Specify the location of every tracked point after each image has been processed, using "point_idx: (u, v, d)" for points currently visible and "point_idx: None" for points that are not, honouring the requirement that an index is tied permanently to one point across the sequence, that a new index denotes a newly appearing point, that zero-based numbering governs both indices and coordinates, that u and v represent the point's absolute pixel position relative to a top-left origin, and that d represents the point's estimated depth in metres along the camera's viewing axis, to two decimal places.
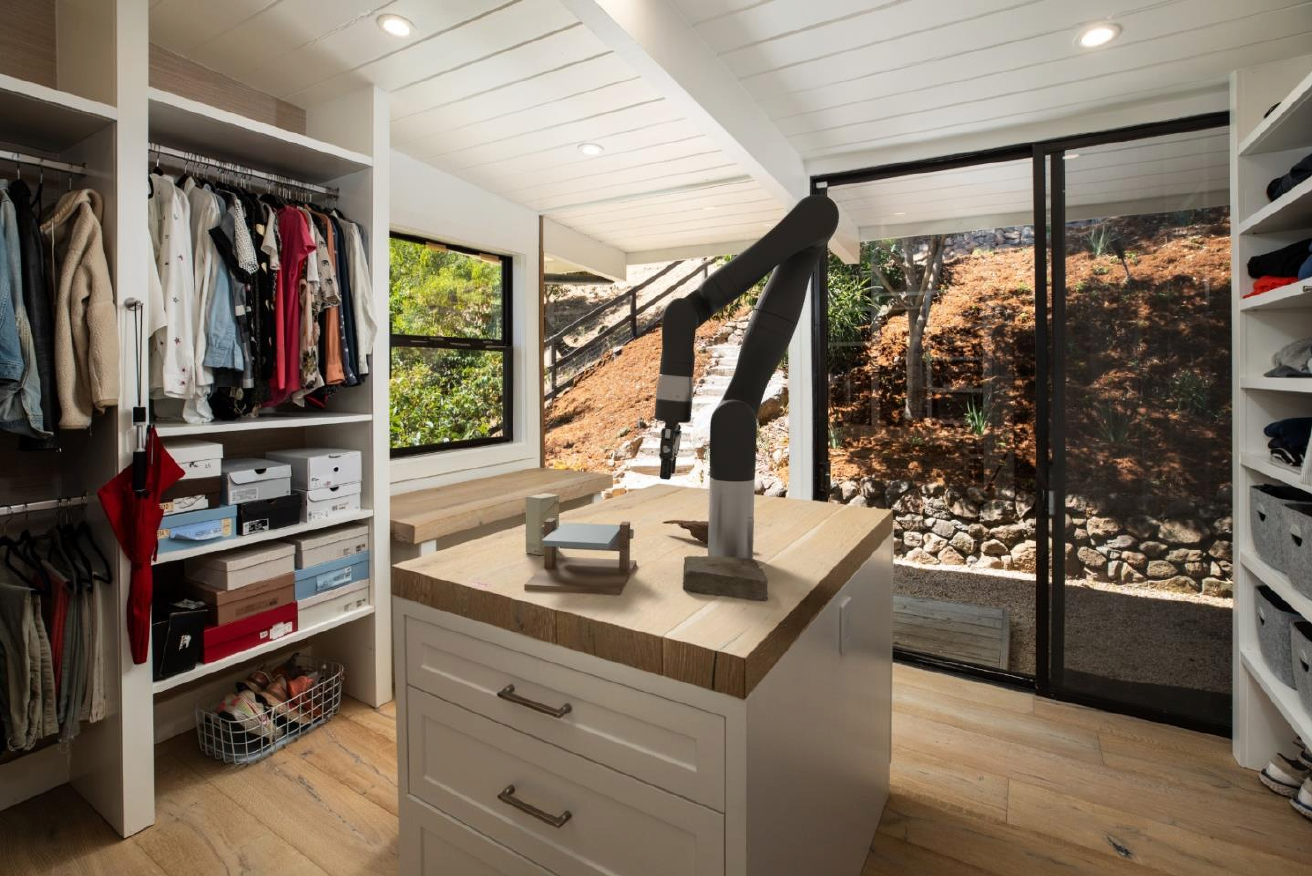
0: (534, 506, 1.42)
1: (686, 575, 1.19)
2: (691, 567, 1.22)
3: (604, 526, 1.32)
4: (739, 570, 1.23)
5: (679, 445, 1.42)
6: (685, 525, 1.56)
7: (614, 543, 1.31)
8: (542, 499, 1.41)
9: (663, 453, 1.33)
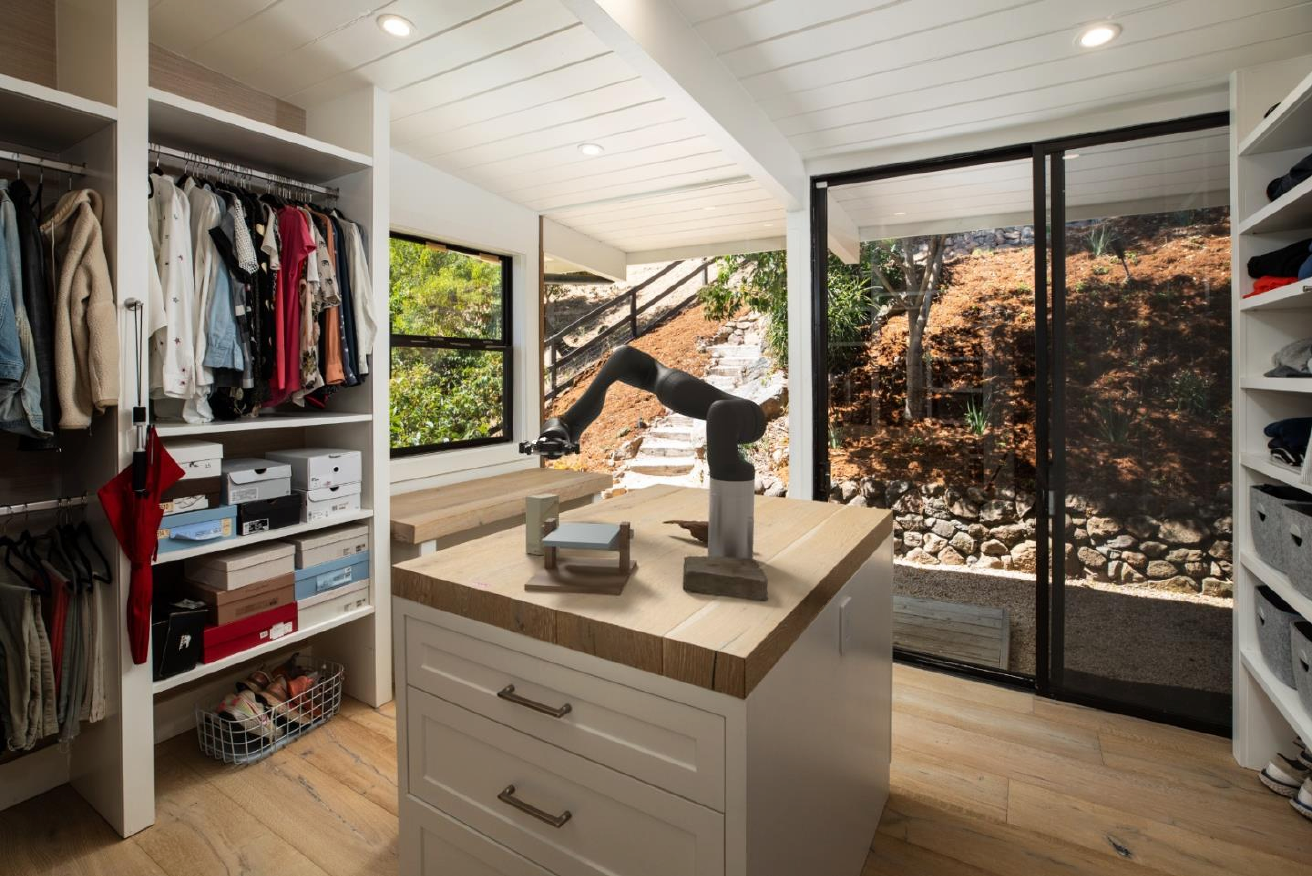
0: (534, 506, 1.42)
1: (686, 575, 1.19)
2: (691, 567, 1.22)
3: (604, 526, 1.32)
4: (739, 570, 1.23)
5: (561, 440, 1.61)
6: (685, 525, 1.56)
7: (614, 543, 1.31)
8: (542, 499, 1.41)
9: None
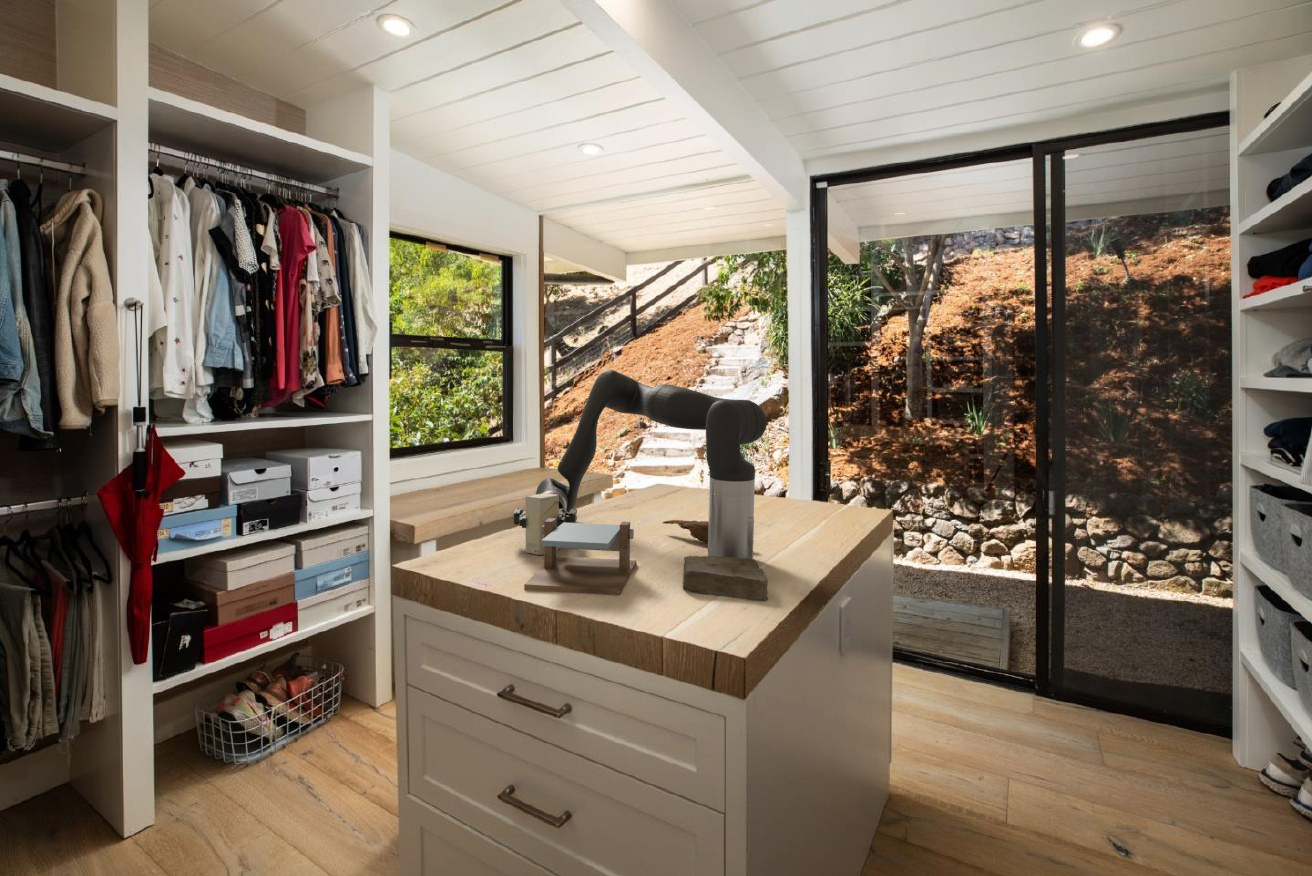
0: (534, 506, 1.42)
1: (686, 575, 1.19)
2: (691, 567, 1.22)
3: (604, 526, 1.32)
4: (739, 570, 1.23)
5: None
6: (685, 525, 1.56)
7: (614, 543, 1.31)
8: (542, 499, 1.41)
9: None
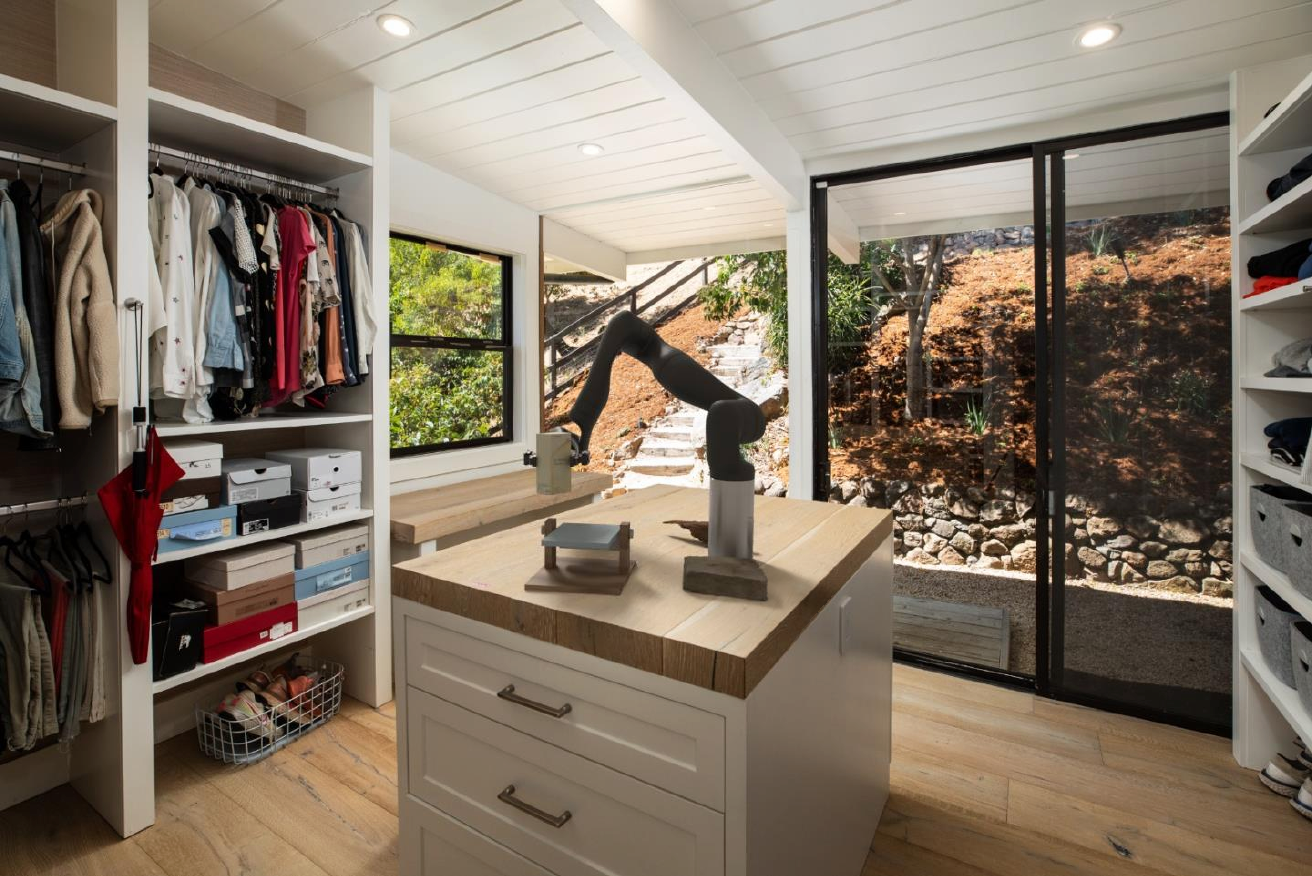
0: (545, 443, 1.33)
1: (686, 575, 1.19)
2: (691, 567, 1.22)
3: (604, 526, 1.32)
4: (739, 570, 1.23)
5: None
6: (685, 525, 1.56)
7: (614, 543, 1.31)
8: (553, 435, 1.33)
9: None
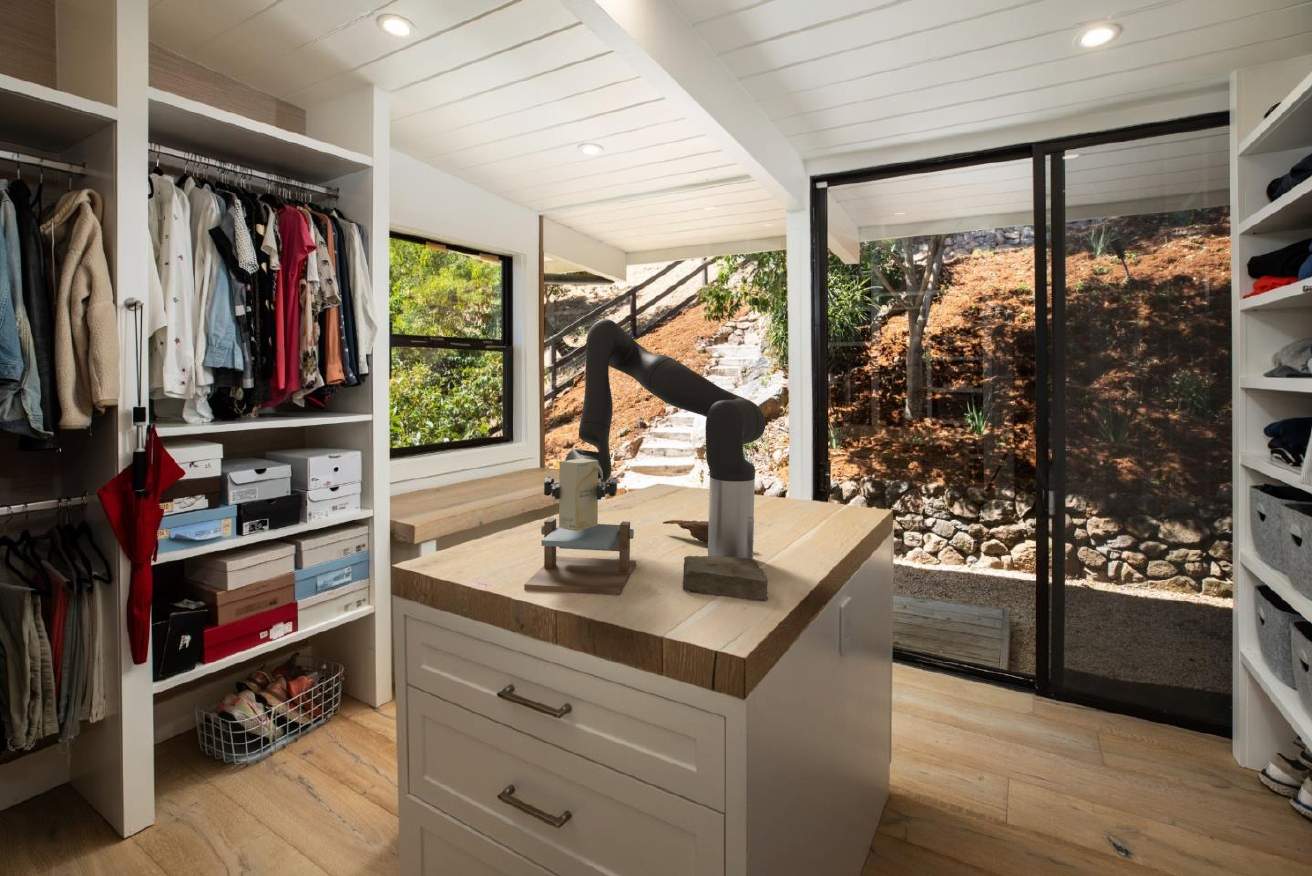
0: (570, 473, 1.19)
1: (686, 575, 1.19)
2: (691, 567, 1.22)
3: (604, 526, 1.32)
4: (739, 570, 1.23)
5: None
6: (685, 525, 1.56)
7: (614, 543, 1.31)
8: (579, 464, 1.18)
9: None
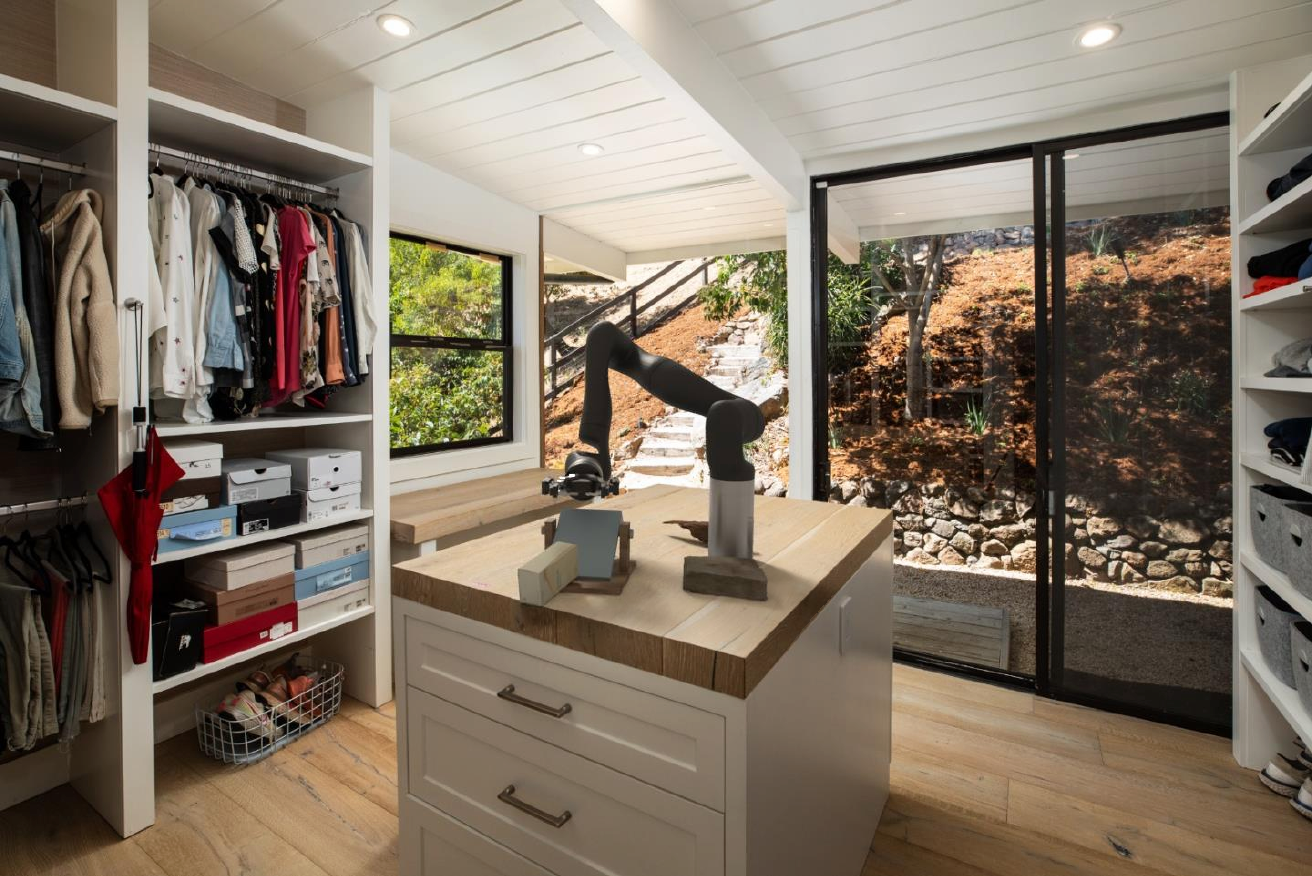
0: None
1: (686, 575, 1.19)
2: (691, 567, 1.22)
3: (603, 518, 1.31)
4: (739, 570, 1.23)
5: (595, 477, 1.26)
6: (685, 525, 1.56)
7: None
8: (542, 602, 1.11)
9: None
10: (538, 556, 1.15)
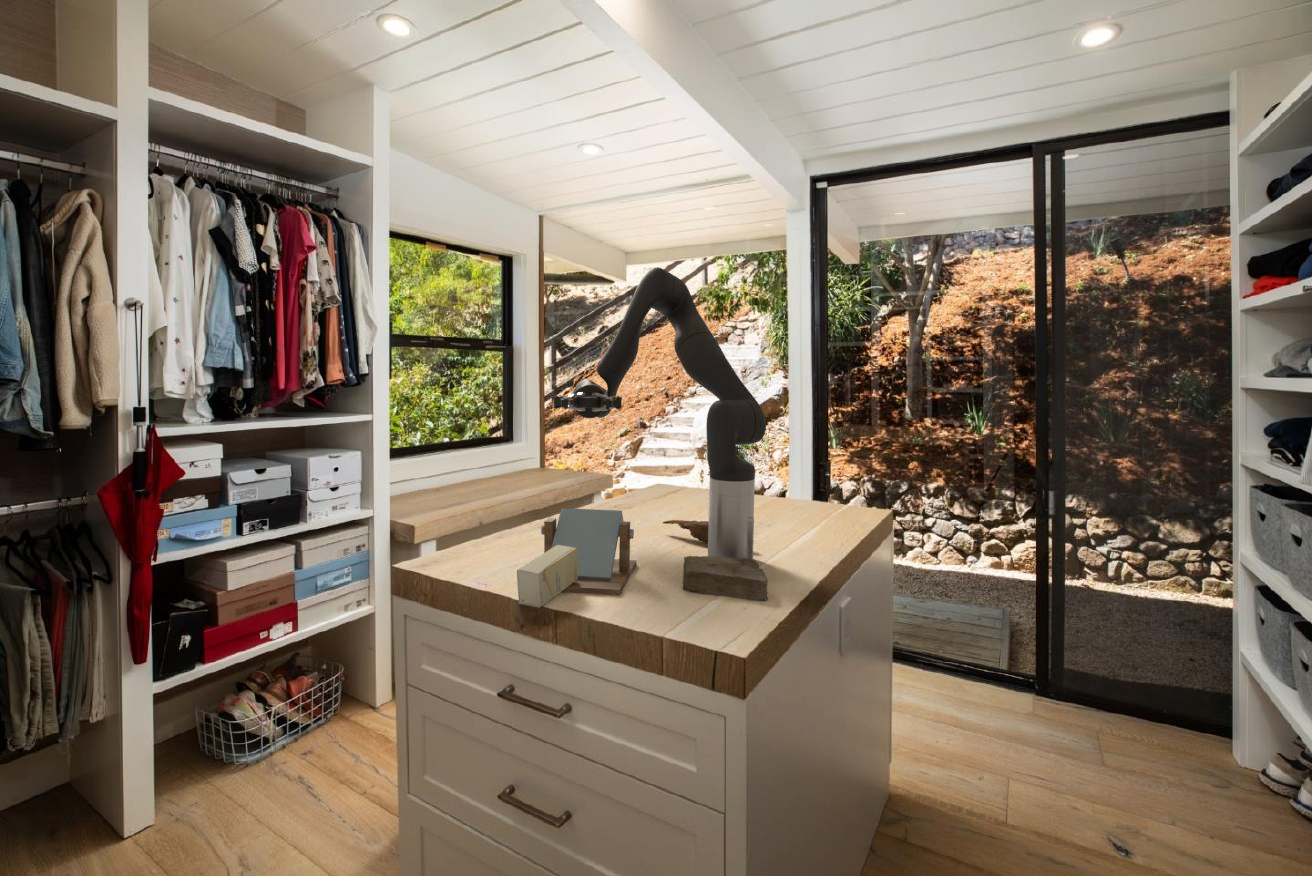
0: None
1: (686, 575, 1.19)
2: (691, 567, 1.22)
3: (603, 518, 1.31)
4: (739, 570, 1.23)
5: (600, 394, 1.44)
6: (685, 525, 1.56)
7: None
8: (541, 604, 1.10)
9: None
10: (537, 558, 1.15)
